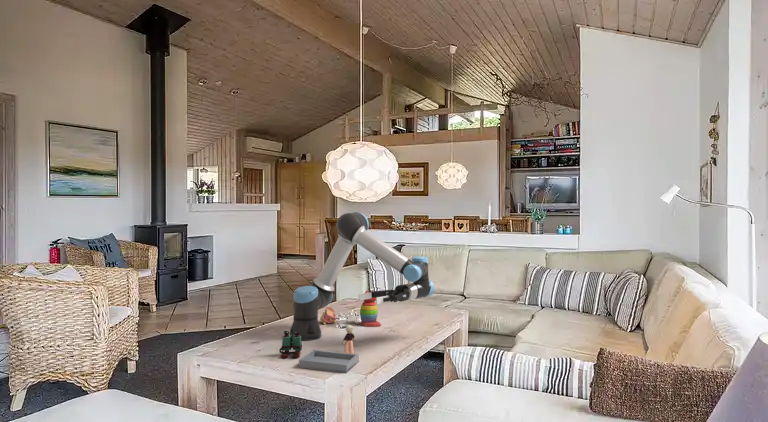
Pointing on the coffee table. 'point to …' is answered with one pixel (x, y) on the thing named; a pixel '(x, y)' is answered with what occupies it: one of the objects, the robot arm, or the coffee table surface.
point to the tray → (329, 361)
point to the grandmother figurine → (349, 340)
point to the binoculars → (291, 345)
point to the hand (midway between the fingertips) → (367, 299)
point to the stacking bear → (369, 313)
